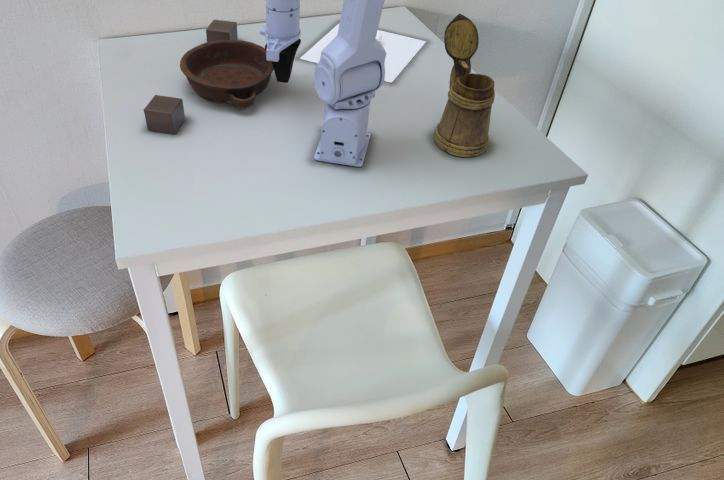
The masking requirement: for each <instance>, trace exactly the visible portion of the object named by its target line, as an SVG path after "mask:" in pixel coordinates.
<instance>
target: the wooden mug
mask: <svg viewBox="0 0 724 480" xmlns="http://www.w3.org/2000/svg"><path fill="white" fill-rule="evenodd" d="M443 39H444V40H443V41H444V42H443V43H444V51H445V52H446V54H447V56H449V57H450V58H451V59H452V61H453V65H452V66H451V67H452V68H451V70H450V75H449V84H448V85H449V87H448V88H449V90H448V92H447V98H448V99H447V101H446V105H445V107H444V109H443V112H442V115H441V117H440V121H439V122H438V123H437V125H436V126H435V129H434V133H433V142H434V143H435V144H436V146H437V147H438V148H439V149H440V150H442V151H443V152H445V153H447V154H449V155H452V156H456V157H461V158H471V157H478V156H481V155H482V154H484V153H485V152H486V151H487V150H488V148H489V142H490V141H489V140H490V135H489V130H490V125H491V123H490V122H491V115H492V107H493V104H494V103H495V99H496V98H495V97H496V90H495V81H494V79H493V78H491V77H490V76H488V75H486V74H481V73H472V64H471V59H472V57H473V56H474V55H475V54H476V52H477V51H478V48H479V43H480V42H479V32H478V28H477V27H476V24H475V23H474V22H473V21H472V20H471V19H470V18H469V17H467V16H466V15H464V14H462V13H458V14H456V16H455V17H454V18H452V19H451V20H450V22H449V23H448V24H447V25H446V28H445V30H444V36H443Z"/></svg>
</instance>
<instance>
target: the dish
mask: <svg viewBox="0 0 724 480" xmlns="http://www.w3.org/2000/svg"><path fill="white" fill-rule="evenodd" d="M179 68H180V69H179V70H180V71H181V72H182V74H183V75H184V76H185V77H186V79H187V81H188V83H189V85H190V87H191V88H192V89H193V91H195V93H196V94H198V95H200V96H201V97H203V98H206V99H210V100H212V101H218V102H224V103H225V102H228V103H230V104H231V105H232V106H233V107H235V108H238V109H247V108H250V107H252V106H253V105H254V103H255V101H256V97H257V96H258V95H260V94H262V93H263V92H264V91H265V90H266V89H267V87H268V85H269V83H270V80H271V77H272V74H273V72H274V68H273V65H272V62H271V61H267V59H266V52H265V46H262V45H260V44H256V43H254V42H252V41H246V40H242V39H241V40H239V39H238V40H216V41H211V42H207V41H206V42H204V43H200V44H199V45H196V46H194V47H193V48H191V49H189V50H187V51H186V52H185V53H184V54H183V55H182V57H181V58H180V61H179Z"/></svg>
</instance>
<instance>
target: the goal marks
mask: <svg viewBox="0 0 724 480" xmlns="http://www.w3.org/2000/svg"><path fill="white" fill-rule="evenodd" d="M205 33H206V34H205V35H206V43H207V42H211V41H216V40H239V38H238V35H239V34H238V23H237V21H230V20H221V19H212V21H211V23H209V25H208V27H207V28H206V29H205ZM143 115H144V118H145V124H146V128H147V131H150V132H158V133H164V134H169V135H176V133H177V132H178V131H179V129H180V127H181V126H182V125H183V123H184V122H185V120H186V116H185V115H186V114H185V108H184V101H183V98H181V97H173V96H166V95H160V94H159V95H158V94H155V95H154V96H153V97H152V98H151V100H150V101H149V102H148V103H147V105H145V107H144V109H143Z"/></svg>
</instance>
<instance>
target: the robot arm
mask: <svg viewBox="0 0 724 480" xmlns="http://www.w3.org/2000/svg"><path fill="white" fill-rule="evenodd" d="M384 4H385V0H343V2H342V7H341V13H340V18H339V23H338V24H339V29H338V34H337V36H336V37H335V38H334V39H333V40H332V41H331V42H330V43H329V44H328V45H327V46H326V47H325V48H324V49H323V50H322V52H321V57H320V61H319V62H318V63H316V65H315V68H314V71H313V86H314V89H315V91H316V94H317V96H318V97H319V98H320V100H321V101H323V117H322V118H323V119H322V125H321V129H320V130H321V132H320V140H319V142H318V145H317V146H316V147H317V148H316V151H315V152H314V156H313V160H314V161H318V162H323V163H324V162H325V163H331V164H338V165H345V166H350V167H356V168H361V167H363V166H364V162H365V158H366V154H367V150H368V147H369V143H370V140H371V136H372V135H371V133H370V132H368V125H369V115H370V106H371V100H372V99H373V98H375V97H376V91H377V90H379V89H381V87H382V86H383V85H384V82H385V81H384V78H385V66H384V63H385V57H386V51H385V50H384V48H383V46H382V45H381V44H380V42H379V41H378V40H376V39H375V38H376V34H377V30H379V25H380V21H381V16H382V12H383V9H384ZM300 21H301V0H265V25H264V26H261V28H260V30H259V34H260V35H261V36H265V41H266V43H265V45H264V48H265V52H266V59H267V61H271V62H272V65H273V68H274V70H273V72H274V76H275V79H276V82H277V83H283V84H288V83H289V81H290V79H291V76H292V71H293V66H294V61H295V57H296V54H297V51H298V49H299V47H300V45H301V43H302V39H301V36H302V35H301V32H302V31H301V27H300V26H301V23H300Z"/></svg>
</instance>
